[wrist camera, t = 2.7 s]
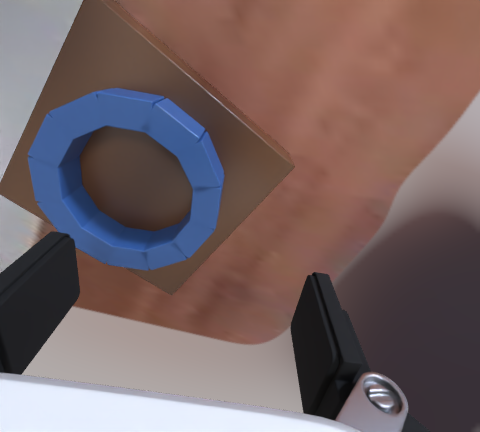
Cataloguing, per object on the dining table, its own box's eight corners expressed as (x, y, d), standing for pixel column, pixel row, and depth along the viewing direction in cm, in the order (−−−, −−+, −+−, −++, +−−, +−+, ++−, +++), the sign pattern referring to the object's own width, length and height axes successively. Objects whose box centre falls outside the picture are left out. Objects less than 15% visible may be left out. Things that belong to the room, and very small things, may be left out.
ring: (29, 189, 19) (2, 205, 17) (103, 45, 15) (80, 42, 13) (165, 272, 22) (156, 294, 20) (256, 170, 18) (258, 184, 16)
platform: (25, 176, 22) (-5, 192, 19) (113, -1, 17) (88, -12, 14) (179, 272, 26) (171, 295, 23) (289, 153, 21) (295, 166, 18)
